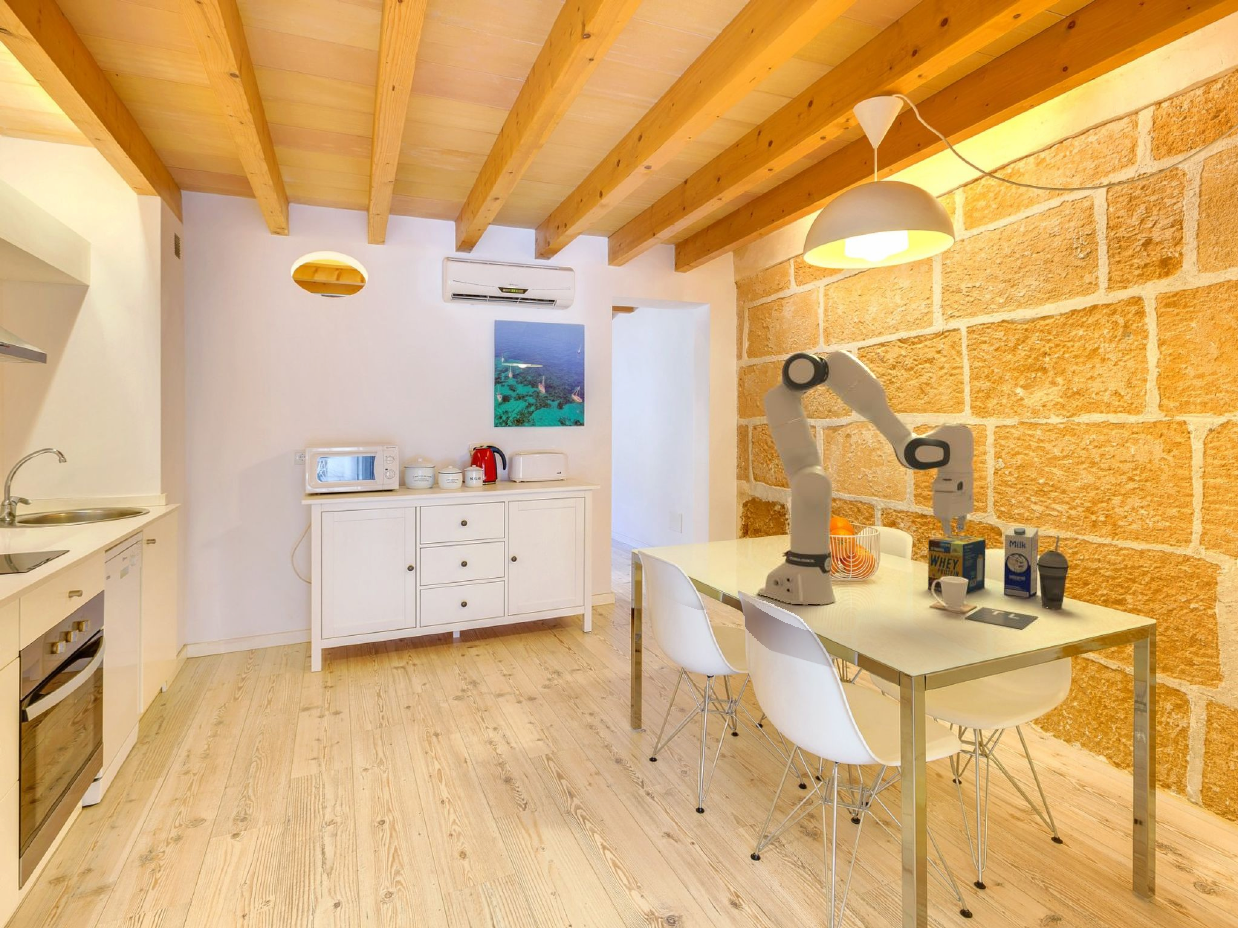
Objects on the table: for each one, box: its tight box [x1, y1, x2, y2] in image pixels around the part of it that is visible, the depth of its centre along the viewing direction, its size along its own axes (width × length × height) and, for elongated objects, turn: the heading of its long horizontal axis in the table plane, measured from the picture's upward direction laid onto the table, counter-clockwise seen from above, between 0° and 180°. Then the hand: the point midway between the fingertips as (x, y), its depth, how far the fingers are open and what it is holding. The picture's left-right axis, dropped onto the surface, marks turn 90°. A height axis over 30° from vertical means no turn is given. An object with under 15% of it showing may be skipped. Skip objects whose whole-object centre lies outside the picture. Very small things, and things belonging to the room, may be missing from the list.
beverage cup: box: [1037, 535, 1070, 610], centre depth 177 cm, size 7×7×20 cm
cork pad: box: [929, 599, 977, 615], centre depth 178 cm, size 9×9×1 cm
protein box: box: [927, 533, 987, 595], centre depth 199 cm, size 10×15×16 cm
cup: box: [930, 576, 968, 611], centre depth 176 cm, size 7×10×8 cm
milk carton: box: [1003, 525, 1040, 599], centre depth 190 cm, size 7×7×20 cm
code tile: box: [964, 606, 1039, 630], centre depth 168 cm, size 13×14×1 cm
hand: (954, 532), depth 177 cm, fingers open, 8 cm apart
